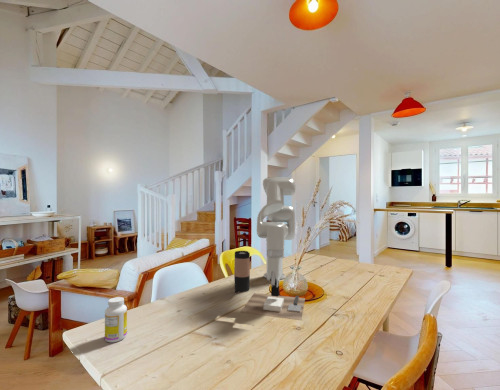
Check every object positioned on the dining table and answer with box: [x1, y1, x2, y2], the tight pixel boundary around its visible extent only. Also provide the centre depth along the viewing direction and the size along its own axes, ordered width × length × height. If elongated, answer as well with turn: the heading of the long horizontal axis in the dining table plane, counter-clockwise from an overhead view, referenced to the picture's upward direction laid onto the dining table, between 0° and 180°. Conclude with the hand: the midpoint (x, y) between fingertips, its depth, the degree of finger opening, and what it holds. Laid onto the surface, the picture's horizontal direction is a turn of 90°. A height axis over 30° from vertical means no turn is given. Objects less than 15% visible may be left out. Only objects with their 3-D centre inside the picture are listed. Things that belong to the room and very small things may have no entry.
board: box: [240, 292, 306, 321], centre depth 112 cm, size 22×24×2 cm
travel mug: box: [233, 250, 251, 294], centre depth 130 cm, size 8×8×20 cm
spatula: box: [287, 295, 301, 312], centre depth 112 cm, size 15×5×1 cm, turn 164°
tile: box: [264, 297, 284, 312], centre depth 110 cm, size 2×7×9 cm
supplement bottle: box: [104, 296, 128, 343], centre depth 88 cm, size 7×7×13 cm
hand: (275, 295), depth 113 cm, fingers closed
